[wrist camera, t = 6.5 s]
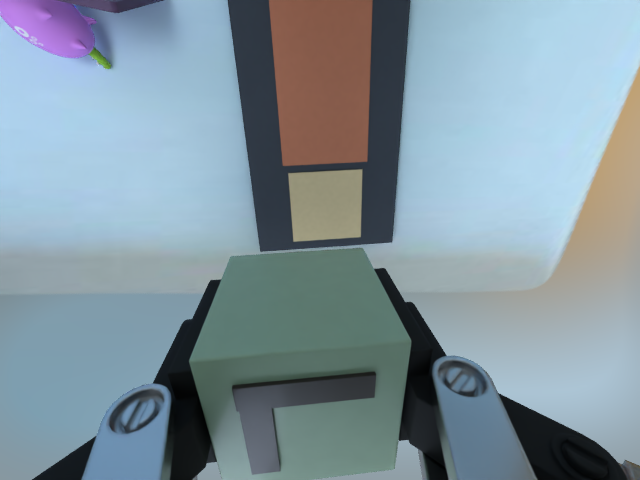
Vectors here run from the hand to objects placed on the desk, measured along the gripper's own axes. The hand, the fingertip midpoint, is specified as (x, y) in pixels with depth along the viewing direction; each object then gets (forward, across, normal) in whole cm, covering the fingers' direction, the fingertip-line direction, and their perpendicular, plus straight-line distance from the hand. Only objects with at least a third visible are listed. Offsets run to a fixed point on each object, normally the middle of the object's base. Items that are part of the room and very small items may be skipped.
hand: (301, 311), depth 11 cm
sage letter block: (0, 0, 0) cm, 0 cm away
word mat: (+14, -2, -8) cm, 16 cm away
